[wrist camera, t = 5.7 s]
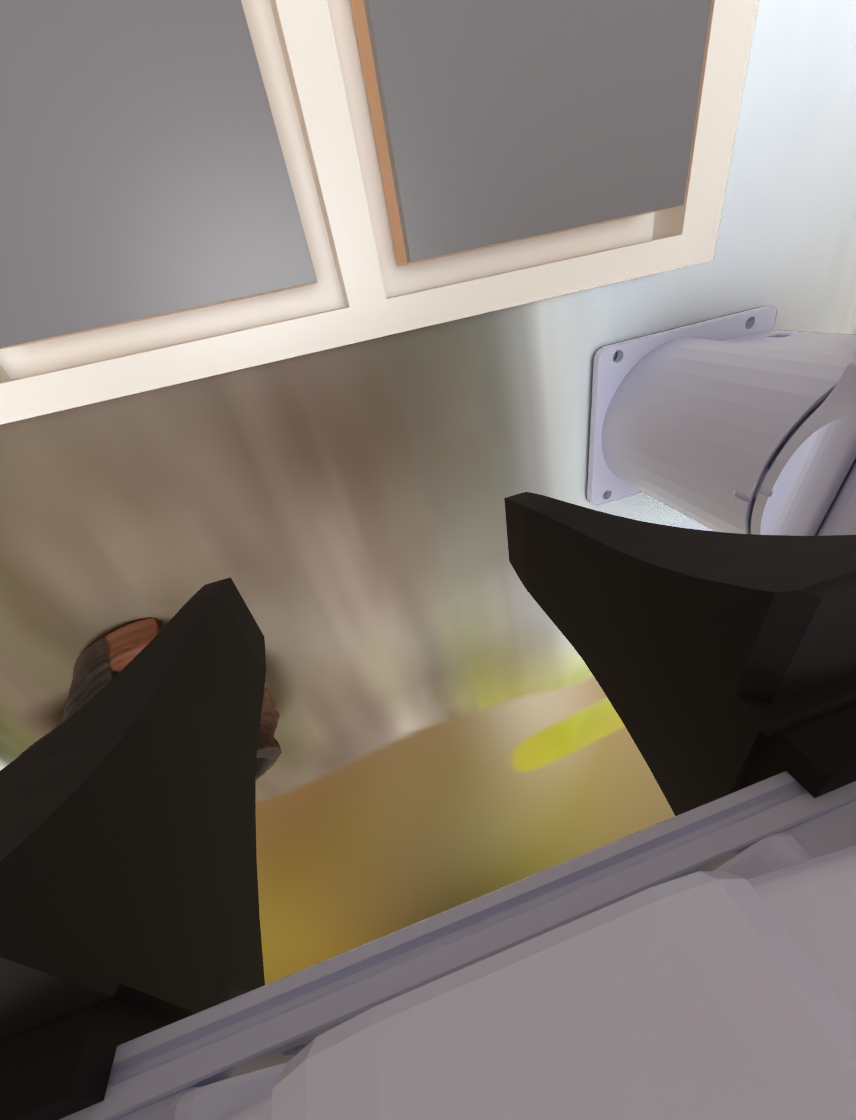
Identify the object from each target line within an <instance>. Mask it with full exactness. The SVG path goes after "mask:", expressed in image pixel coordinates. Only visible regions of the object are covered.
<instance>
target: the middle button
mask: <svg viewBox="0 0 856 1120" xmlns="http://www.w3.org/2000/svg"><path fill="white" fill-rule="evenodd" d="M317 282H318V281H317V277H316V274H315V270H314V266H313V263H312V259H311V255H310V252H309V248H308V244H307V241H306V237H305V233H304V230H303V226H302V222H301V219H300V215H299V211H298V208H297V204H296V200H295V197H294V193H293V189H292V186H291V182H290V178H289V175H288V171H287V167H286V164H285V160H284V156H283V153H282V149H281V145H280V142H279V138H278V134H277V131H276V127H275V123H274V120H273V116H272V112H271V109H270V105H269V101H268V98H267V94H266V90H265V87H264V83H263V79H262V76H261V72H260V68H259V65H258V61H257V57H256V54H255V50H254V46H253V43H252V39H251V35H250V32H249V28H248V24H247V21H246V17H245V13H244V10H243V6H242V2H241V0H0V349H5V348H12V347H18V346H22V345H27V344H32V343H37V342H41V341H46V340H51V339H56V338H60V337H65V336H70V335H75V334H79V333H84V332H89V331H94V330H99V329H103V328H108V327H113V326H118V325H122V324H127V323H132V322H137V321H141V320H146V319H151V318H156V317H160V316H165V315H170V314H175V313H179V312H184V311H189V310H194V309H198V308H203V307H208V306H213V305H218V304H222V303H227V302H232V301H237V300H241V299H246V298H251V297H256V296H260V295H265V294H270V293H275V292H279V291H284V290H289V289H294V288H298V287H303V286H308V285H313V284H316V283H317Z"/></svg>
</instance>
